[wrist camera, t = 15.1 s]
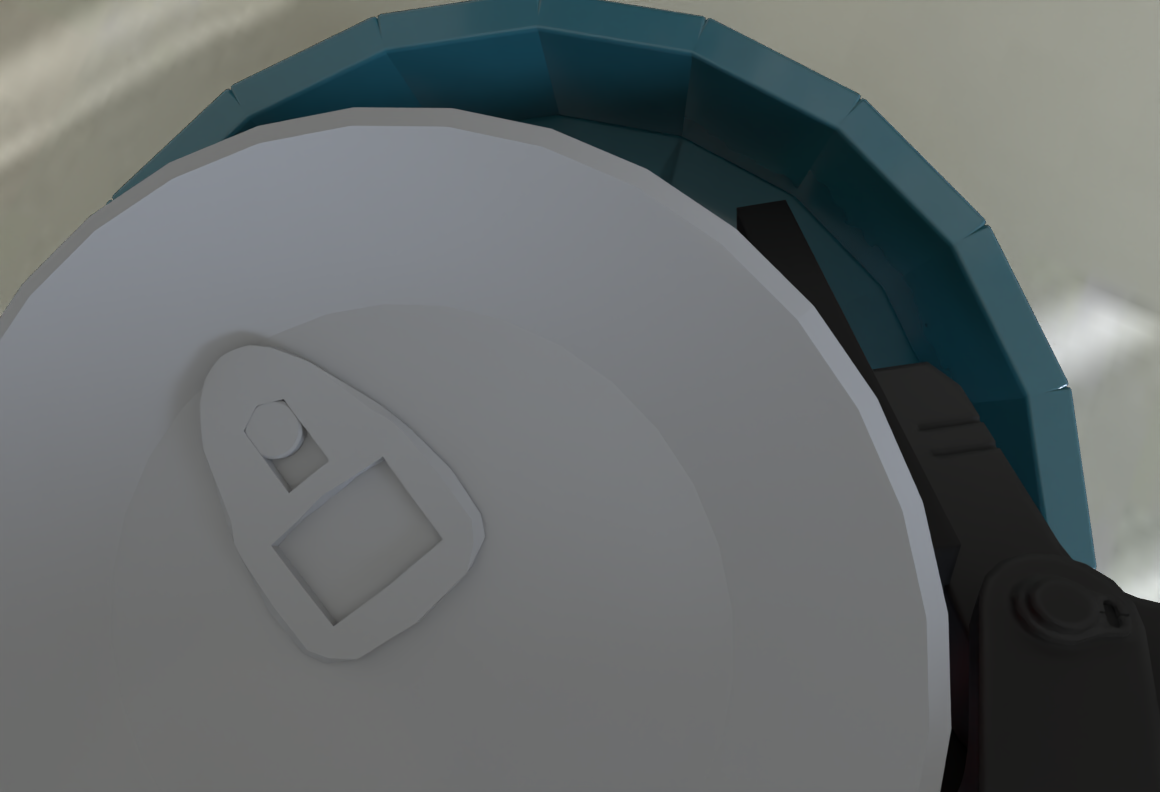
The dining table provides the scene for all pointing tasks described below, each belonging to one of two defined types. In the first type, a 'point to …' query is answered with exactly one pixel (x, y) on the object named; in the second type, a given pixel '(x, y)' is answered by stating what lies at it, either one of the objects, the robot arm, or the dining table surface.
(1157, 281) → the dining table surface
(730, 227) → the canned food
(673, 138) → the teal pet bowl
